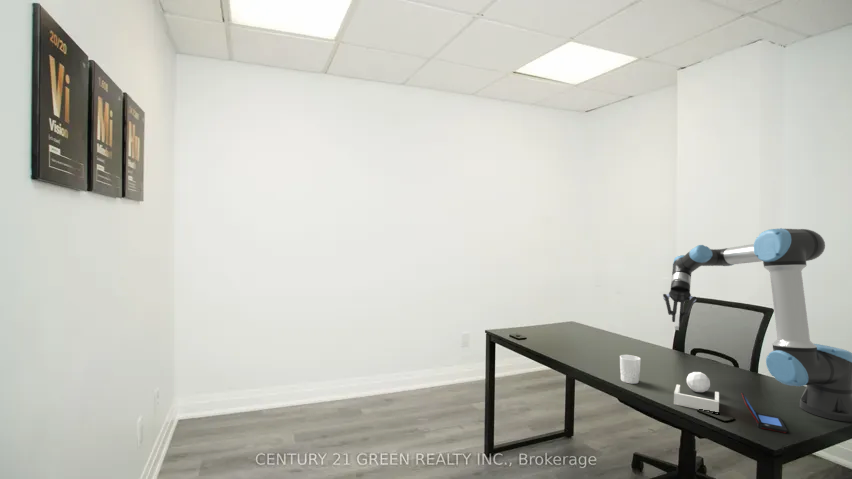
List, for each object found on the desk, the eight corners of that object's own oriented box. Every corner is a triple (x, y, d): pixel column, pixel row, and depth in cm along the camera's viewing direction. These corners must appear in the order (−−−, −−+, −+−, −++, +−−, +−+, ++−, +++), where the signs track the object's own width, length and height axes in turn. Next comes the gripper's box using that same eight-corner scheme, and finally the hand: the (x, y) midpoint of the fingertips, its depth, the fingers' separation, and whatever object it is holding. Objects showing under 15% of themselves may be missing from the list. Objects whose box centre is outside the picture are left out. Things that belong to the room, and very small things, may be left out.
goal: (676, 394, 162) (676, 384, 162) (718, 402, 154) (718, 392, 154) (673, 404, 152) (674, 393, 152) (718, 413, 145) (718, 402, 145)
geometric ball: (703, 398, 165) (718, 384, 163) (692, 394, 161) (708, 380, 159) (688, 383, 171) (703, 369, 169) (678, 379, 168) (693, 365, 165)
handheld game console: (788, 434, 131) (788, 411, 130) (745, 426, 136) (745, 403, 136) (780, 419, 141) (780, 397, 141) (740, 412, 147) (741, 391, 147)
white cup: (642, 385, 171) (643, 360, 171) (622, 383, 173) (622, 359, 173) (636, 378, 179) (637, 355, 179) (617, 377, 181) (617, 354, 180)
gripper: (697, 291, 189) (694, 335, 176) (664, 288, 196) (659, 330, 183) (697, 280, 185) (694, 325, 171) (663, 278, 192) (658, 320, 179)
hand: (676, 328), depth 177 cm, fingers closed
